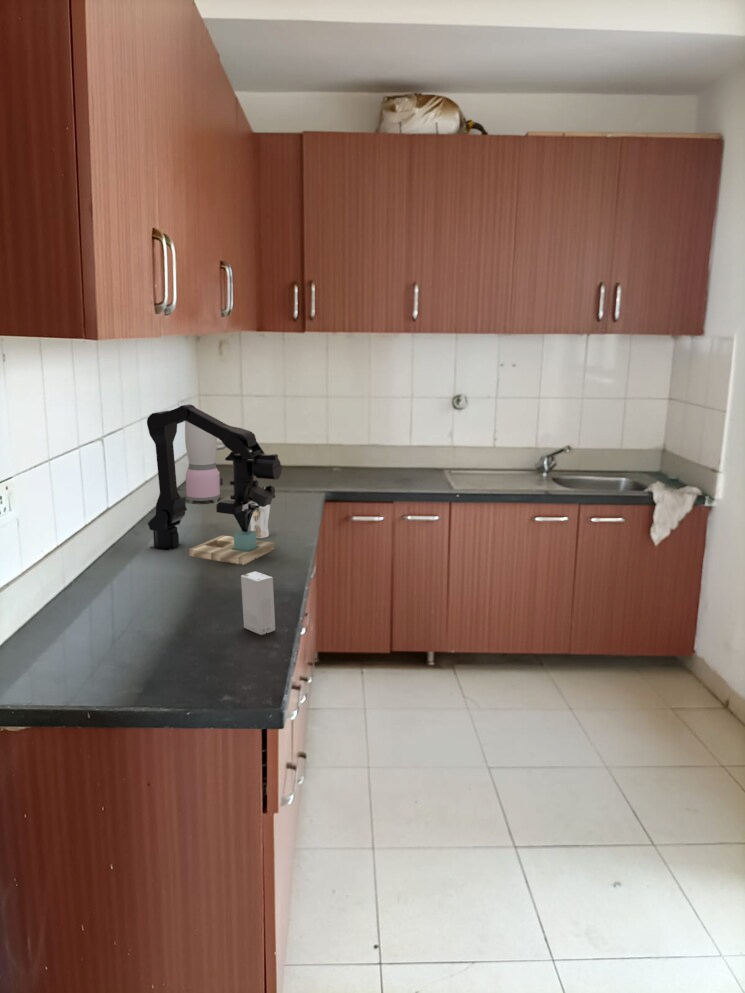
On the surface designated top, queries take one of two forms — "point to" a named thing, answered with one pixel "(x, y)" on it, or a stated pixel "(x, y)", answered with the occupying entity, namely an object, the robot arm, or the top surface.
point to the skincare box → (258, 602)
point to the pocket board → (229, 550)
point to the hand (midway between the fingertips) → (245, 531)
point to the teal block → (245, 541)
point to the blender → (202, 465)
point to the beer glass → (260, 521)
